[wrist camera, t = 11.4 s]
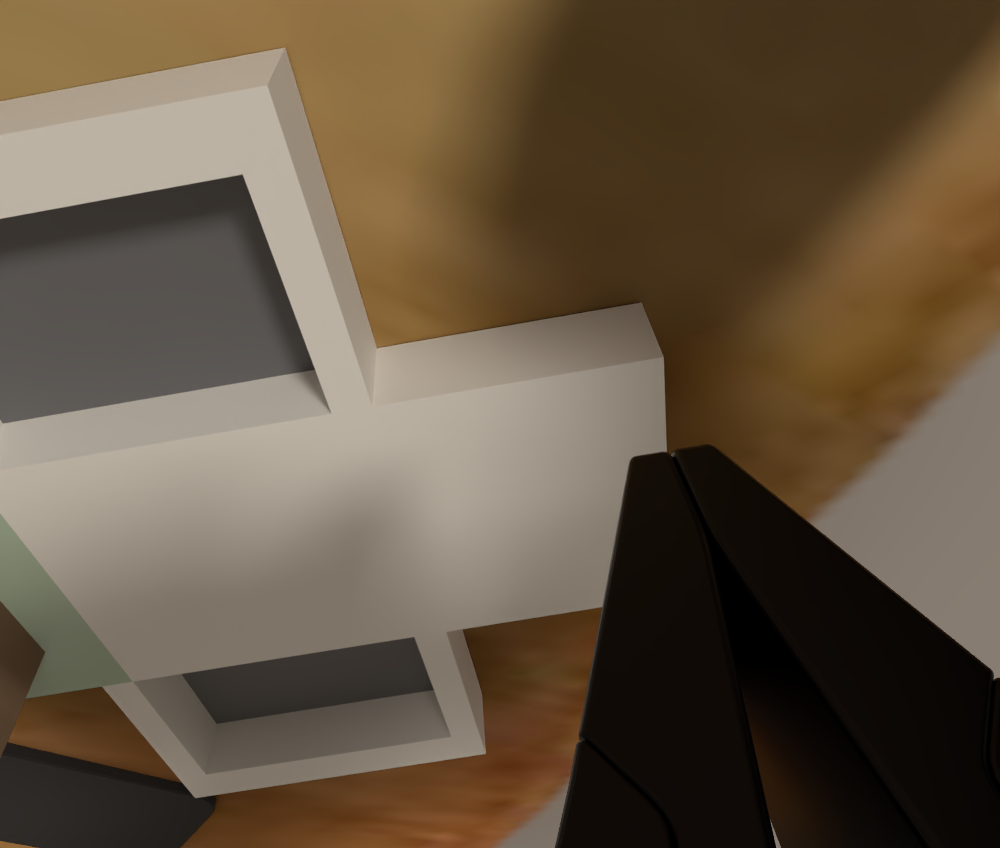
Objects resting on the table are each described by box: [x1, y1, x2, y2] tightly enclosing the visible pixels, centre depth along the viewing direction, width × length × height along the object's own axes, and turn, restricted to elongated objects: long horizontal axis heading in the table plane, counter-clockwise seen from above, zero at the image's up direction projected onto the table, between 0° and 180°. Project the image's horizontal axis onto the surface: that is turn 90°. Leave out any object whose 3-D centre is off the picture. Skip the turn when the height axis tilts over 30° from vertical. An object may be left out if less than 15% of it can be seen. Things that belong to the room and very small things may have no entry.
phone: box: [0, 743, 216, 848], centre depth 34 cm, size 7×1×15 cm
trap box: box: [0, 48, 667, 798], centre depth 23 cm, size 25×24×2 cm
